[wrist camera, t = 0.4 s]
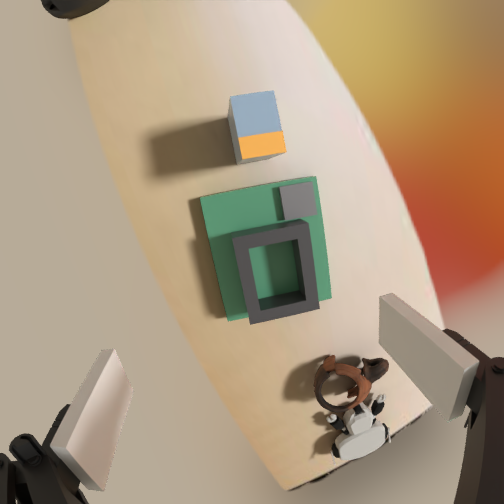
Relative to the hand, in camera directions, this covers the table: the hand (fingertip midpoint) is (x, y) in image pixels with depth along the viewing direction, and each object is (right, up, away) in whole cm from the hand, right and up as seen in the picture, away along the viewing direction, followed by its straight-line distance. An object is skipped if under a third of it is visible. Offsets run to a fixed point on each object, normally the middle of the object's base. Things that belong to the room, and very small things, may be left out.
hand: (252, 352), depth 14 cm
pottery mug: (+15, -14, +31) cm, 37 cm away
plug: (0, +18, +21) cm, 28 cm away
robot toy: (+20, -28, +35) cm, 49 cm away
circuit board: (+2, +5, +25) cm, 25 cm away
